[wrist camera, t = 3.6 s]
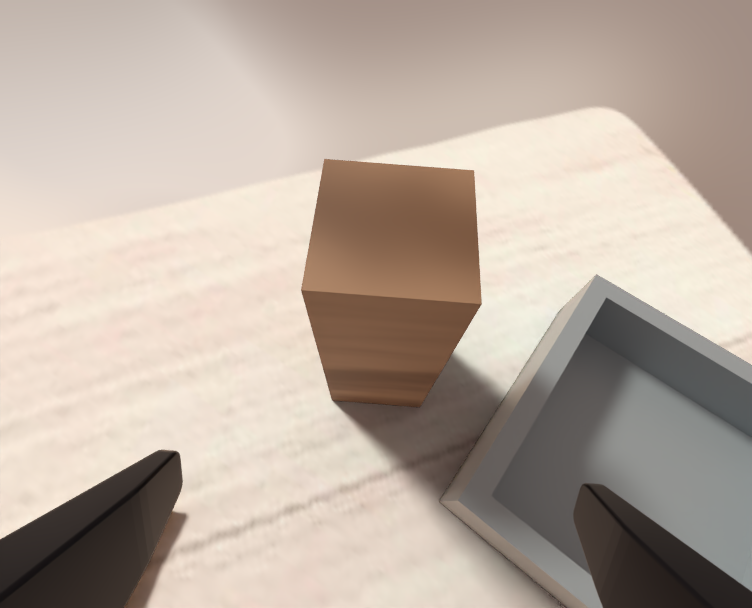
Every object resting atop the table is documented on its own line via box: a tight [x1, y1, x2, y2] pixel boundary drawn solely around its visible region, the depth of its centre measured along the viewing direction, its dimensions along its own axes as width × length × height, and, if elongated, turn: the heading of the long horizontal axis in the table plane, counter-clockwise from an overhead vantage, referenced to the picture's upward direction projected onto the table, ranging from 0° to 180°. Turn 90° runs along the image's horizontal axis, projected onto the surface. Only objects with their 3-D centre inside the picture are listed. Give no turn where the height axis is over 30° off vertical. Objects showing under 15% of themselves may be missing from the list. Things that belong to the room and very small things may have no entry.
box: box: [439, 274, 752, 608], centre depth 19 cm, size 14×14×4 cm
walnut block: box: [301, 159, 482, 407], centre depth 18 cm, size 5×5×13 cm
